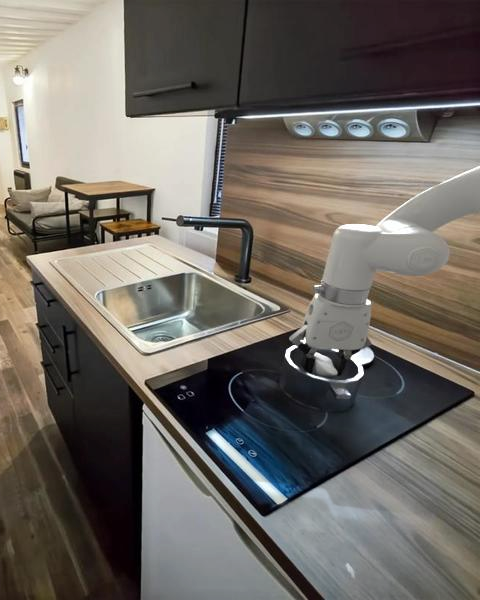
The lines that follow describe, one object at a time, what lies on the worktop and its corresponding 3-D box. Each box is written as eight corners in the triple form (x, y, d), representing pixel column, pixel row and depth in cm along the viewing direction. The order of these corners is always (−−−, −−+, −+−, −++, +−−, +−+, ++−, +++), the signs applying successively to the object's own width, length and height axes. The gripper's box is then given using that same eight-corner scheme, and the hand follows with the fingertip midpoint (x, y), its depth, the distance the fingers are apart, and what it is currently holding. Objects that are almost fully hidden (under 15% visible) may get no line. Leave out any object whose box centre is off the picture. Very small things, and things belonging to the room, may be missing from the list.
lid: (353, 337, 96) (361, 314, 93) (386, 370, 83) (395, 345, 80) (294, 335, 98) (299, 313, 96) (316, 367, 85) (323, 342, 83)
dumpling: (299, 363, 79) (305, 347, 78) (323, 368, 79) (330, 352, 78) (314, 378, 73) (321, 360, 72) (341, 384, 72) (348, 366, 71)
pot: (329, 365, 86) (337, 338, 82) (374, 425, 69) (386, 394, 65) (267, 362, 88) (273, 336, 85) (296, 419, 71) (304, 389, 68)
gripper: (301, 299, 66) (283, 379, 74) (407, 301, 63) (376, 385, 71) (287, 283, 73) (271, 358, 81) (382, 284, 70) (356, 362, 78)
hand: (321, 370), depth 76 cm, fingers closed on dumpling, 4 cm apart
